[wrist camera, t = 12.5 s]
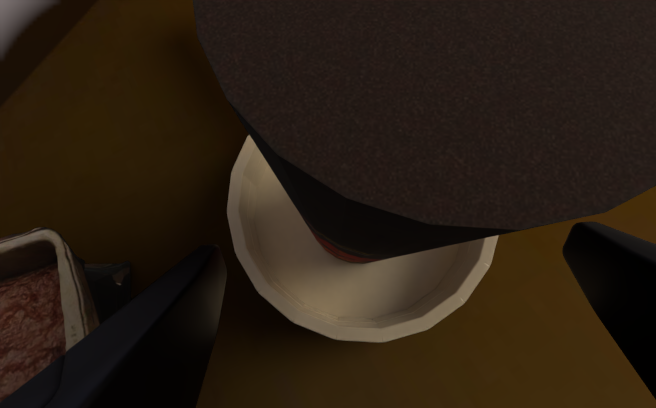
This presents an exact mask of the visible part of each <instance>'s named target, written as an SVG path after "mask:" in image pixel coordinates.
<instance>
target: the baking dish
mask: <svg viewBox="0 0 656 408" xmlns="http://www.w3.org/2000/svg"><path fill="white" fill-rule="evenodd" d="M130 301H131V280H130V262H129V261H126V262H124V263H122V264H85V261H84V260H82V259H80V258H79V257H77V256H76V255H75V254H74V252H73V251H72V250H71V248H70V247H69V245H68V244H67V243H66V241H65V240H64V239H63V237H62V236H61V235H60V234H59V233H58V232H56V231H55V230H53V229H50V228H46V227H42V228H35V229H33V230H31V231H28V232H24V233H20V234H12V235H9V236H6V237H3V238H0V402H1V401H2V400H4V399H5V398H7V397H8V396H9V395H10V394H12V393H13V392H14V391H16V390H17V389H18V388H20V387H21V386H22V385H24V384H25V383H26V382H27V381H29V380H30V379H31V378H33V377H34V376H35V375H37V374H38V373H39V372H41V371H42V370H43V369H44V368H46V367H47V366H48V365H49V364H51V363H52V362H53V361H55V360H56V359H57V358H58V357H60V356H61V355H65V353H66V351H67V350H69V349H70V348H71V347H72V346H74V345H75V344H76V343H78V342H79V341H80V340H81V339H83V338H84V337H85V336H86V335H88V334H89V333H90V332H91V331H93V330H94V329H95V328H97V327H98V326H99V325H100V324H102V323H103V322H104V321H105V320H107V319H108V318H109V317H111V316H112V315H113V314H114V313H116V312H117V311H118V310H119V309H121V308H122V307H123V306H125V305H126V304H127V303H128V302H130Z"/></svg>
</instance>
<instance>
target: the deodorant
mask: <svg viewBox="0 0 656 408" xmlns="http://www.w3.org/2000/svg"><path fill="white" fill-rule="evenodd" d="M193 5H194V13H195V21H196V29H197V36H198V39H199V41H200V44H201V46H202V48H203V50H204V52H205V54H206V56H207V58H208V60H209V63H210V65H211V67H212V69H213V71H214V73H215V75H216V77H217V79H218V82H219V84H220V86H221V88H222V90H223V92H224V94H225V96H226V98H227V100H228V102H229V103H230V105H231V106H232V108H233V110H234V111H235V113H236V114H237V116H238V117H239V119H240V121H241V122H242V124H243V125H244V127H245V128H246V130H247V132H248V133H249V135H250V136H251V138H252V139H253V141H254V143H255V144H256V146H257V147H258V149H259V150H260V152H261V154H262V155H263V157H264V158H265V160H266V161H267V163H268V165H269V166H270V168H271V169H272V171H273V172H274V174H275V176H276V177H277V179H278V180H279V182H280V183H281V185H282V187H283V188H284V190H285V191H286V193H287V195H288V196H289V198H290V199H291V201H292V202H293V204H294V206H295V207H296V209H297V210H298V212H299V213H300V215H301V217H302V218H303V220H304V221H305V223H306V224H307V226H308V228H309V229H310V231H311V232H312V234H313V235H314V237H315V239H316V240H317V241H318V243H319V244H320V245H321V246H322V247H323V248H324V249H325V251H327V252H328V253H330V254H331V255H333V256H334V257H336V258H337V259H340V260H343V261H346V262H349V263H360V264H366V263H370V262H375V261H380V260H385V259H389V258H394V257H399V256H403V255H408V254H413V253H417V252H422V251H427V250H431V249H436V248H441V247H445V246H450V245H455V244H459V243H464V242H469V241H473V240H478V239H483V238H487V237H492V236H497V235H501V234H506V233H511V232H515V231H520V230H525V229H529V228H534V227H539V226H543V225H548V224H553V223H557V222H562V221H567V220H572V219H576V218H581V217H586V216H590V215H595V214H600V213H604V212H607V211H609V210H611V209H613V208H615V207H616V206H618V205H620V204H622V203H624V202H626V201H628V200H630V199H631V198H633V197H635V196H637V195H639V194H641V193H643V192H645V191H647V190H648V189H650V188H652V187H654V186H656V0H193Z"/></svg>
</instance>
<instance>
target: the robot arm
mask: <svg viewBox="0 0 656 408" xmlns="http://www.w3.org/2000/svg"><path fill="white" fill-rule="evenodd" d="M563 256H564V258H565V260H566V262H567V264H568V265H569V267H570V269H571V271H572V273H573V274H574V276H575V278H576V280H577V281H578V283H579V285H580V287H581V289H582V290H583V292H584V294H585V296H586V297H587V299H588V301H589V303H590V304H591V306H592V308H593V309H594V311H595V313H596V314H597V316H598V317H599V319H600V320H601V322H602V323H603V324H604V326H605V327H606V329H607V330H608V332H609V333H610V335H611V336H612V337H613V339H614V340H615V342H616V343H617V345H618V346H619V347H620V349H621V350H622V352H623V353H624V355H625V356H626V357H627V359H628V360H629V362H630V363H631V365H632V366H633V368H634V369H635V370H636V372H637V373H638V375H639V376H640V378H641V379H642V380H643V382H644V383H645V385H646V386H647V388H648V389H649V391H650V392H651V393H652V395H653V396H654V398H655V399H656V244H654V243H651V242H648V241H645V240H643V239H640V238H637V237H635V236H632V235H629V234H627V233H624V232H621V231H619V230H616V229H613V228H611V227H608V226H605V225H603V224H600V223H597V222H579V223H576V224H575V225H574V226H573V227H572V228H571V231H570V233H569V235H568V237H567V239H566V242H565V244H564V246H563ZM226 278H227V269H226V265H225V262H224V259H223V256H222V253H221V249H220V247H219V246H218V245H216V244H210V245H201V246H200V247H198V248H197V249H196V250H194V251H193V252H192V253H191V254H189V255H188V256H187V257H185V258H184V259H183V260H182V261H180V262H179V263H178V264H177V265H175V266H174V267H173V268H172V269H170V270H169V271H168V272H166V273H165V274H164V275H163V276H161V277H160V278H159V279H158V280H156V281H155V282H154V283H152V284H151V285H150V286H149V287H147V288H146V289H145V290H144V291H142V292H141V293H140V294H138V295H137V296H136V297H135V298H133V299H132V300H131V301H130V302H128V303H127V304H126V305H125V306H123V307H122V308H121V309H119V310H118V311H117V312H116V313H114V314H113V315H112V316H111V317H109V318H108V319H107V320H105V321H104V322H103V323H102V324H100V325H99V326H98V327H97V328H95V329H94V330H93V331H91V332H90V333H89V334H88V335H86V336H85V337H84V338H83V339H81V340H80V341H79V342H78V343H76V344H75V345H74V346H72V347H71V348H70V349H69V350H67V351H66V353H65V355H61V356H60V357H58V358H57V359H56V360H55V361H53V362H52V363H51V364H49V365H48V366H47V367H46V368H44V369H43V370H42V371H41V372H39V373H38V374H37V375H35V376H34V377H33V378H31V379H30V380H29V381H27V382H26V383H25V384H24V385H22V386H21V387H20V388H18V389H17V390H16V391H14V392H13V393H12V394H10V395H9V396H8V397H7V398H5V399H4V400H2V401H1V402H0V408H196V404H197V401H198V397H199V394H200V390H201V387H202V383H203V380H204V377H205V373H206V370H207V366H208V363H209V359H210V356H211V352H212V349H213V345H214V342H215V338H216V334H217V330H218V325H219V319H220V313H221V307H222V302H223V296H224V290H225V284H226Z"/></svg>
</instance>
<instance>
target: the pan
mask: <svg viewBox="0 0 656 408" xmlns="http://www.w3.org/2000/svg"><path fill="white" fill-rule="evenodd" d="M227 217H228V222H229V227H230V231H231V236H232V241H233V246H234V251H235V254H236V256H237V258H238V260H239V261H240V263H241V265H242V266H243V268H244V270H245V272H246V273H247V275H248V277H249V278H250V280H251V282H252V284H253V285H254V287H255V289H256V290H257V292H258V293H259V294H260V295H261V296H262V297H263V298H265V299H266V300H267V301H268V302H269V303H270V304H271V305H273V306H274V307H275V308H276V309H277V310H278V311H280V312H281V313H282V314H283V315H284V316H285V317H286V318H288V319H289V320H290V321H291V322H293V323H295V324H297V325H299V326H302V327H304V328H307V329H309V330H312V331H314V332H317V333H319V334H321V335H324V336H326V337H329V338H331V339H334V340H335V339H336V340H340V341H358V342H376V343H382V342H388V341H391V340H394V339H398V338H401V337H405V336H408V335H412V334H415V333H419V332H422V331H426V330H427V329H430V328H431V327H432V326H434V325H435V324H437V323H438V322H439V321H441V320H442V319H444V318H445V317H446V316H448V315H449V314H450V313H452V312H453V311H455V310H456V309H457V308H459V307H460V306H462V305H463V304H464V302H466V301H467V299H468V298H469V296H470V295H471V293H472V292H473V290H474V289H475V288H476V286H477V285H478V283H479V282H480V280H481V279H482V277H483V276H484V274H485V273H486V272H487V270H488V269H489V267H490V265H491V261H492V258H493V254H494V250H495V247H496V243H497V239H498V235H497V236H492V237H487V238H483V239H478V240H473V241H469V242H464V243H459V244H455V245H450V246H445V247H441V248H436V249H431V250H427V251H422V252H417V253H413V254H408V255H403V256H399V257H394V258H389V259H385V260H380V261H375V262H370V263H366V264H360V263H349V262H346V261H343V260H340V259H337V258H336V257H334V256H333V255H331V254H330V253H328V252H327V251H325V249H324V248H323V247H322V246H321V245H320V244H319V243H318V241H317V240H316V239H315V237H314V235H313V234H312V232H311V231H310V229H309V228H308V226H307V224H306V223H305V221H304V220H303V218H302V217H301V215H300V213H299V212H298V210H297V209H296V207H295V206H294V204H293V202H292V201H291V199H290V198H289V196H288V195H287V193H286V191H285V190H284V188H283V187H282V185H281V183H280V182H279V180H278V179H277V177H276V176H275V174H274V172H273V171H272V169H271V168H270V166H269V165H268V163H267V161H266V160H265V158H264V157H263V155H262V154H261V152H260V150H259V149H258V147H257V146H256V144H255V143H254V141H253V139H252V138H251V136H250V135H248V136H247V139H246V141H245V143H244V145H243V147H242V149H241V152H240V154H239V156H238V158H237V160H236V163H235V165H234V167H233V169H232V172H231V179H230V187H229V196H228V204H227Z"/></svg>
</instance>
